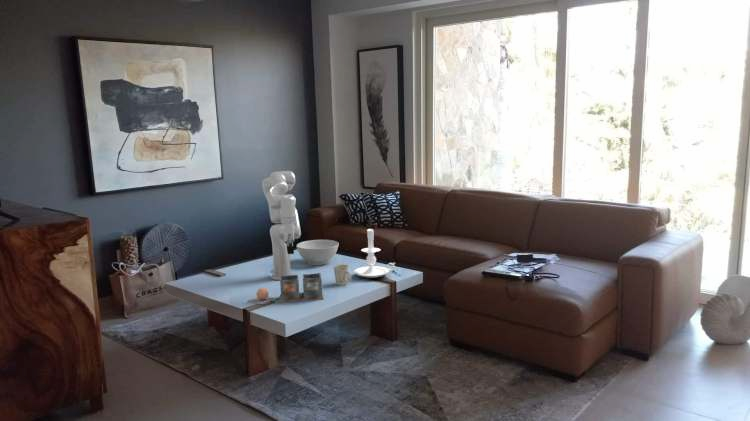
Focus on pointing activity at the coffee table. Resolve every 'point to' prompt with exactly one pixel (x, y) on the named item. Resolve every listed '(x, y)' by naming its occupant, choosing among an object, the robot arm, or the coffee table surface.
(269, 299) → the mat
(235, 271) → the coffee table surface
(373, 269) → the candlestick
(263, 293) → the ball
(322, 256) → the decorative bowl
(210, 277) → the coffee table surface
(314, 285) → the dark grey boxy container
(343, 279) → the mug
